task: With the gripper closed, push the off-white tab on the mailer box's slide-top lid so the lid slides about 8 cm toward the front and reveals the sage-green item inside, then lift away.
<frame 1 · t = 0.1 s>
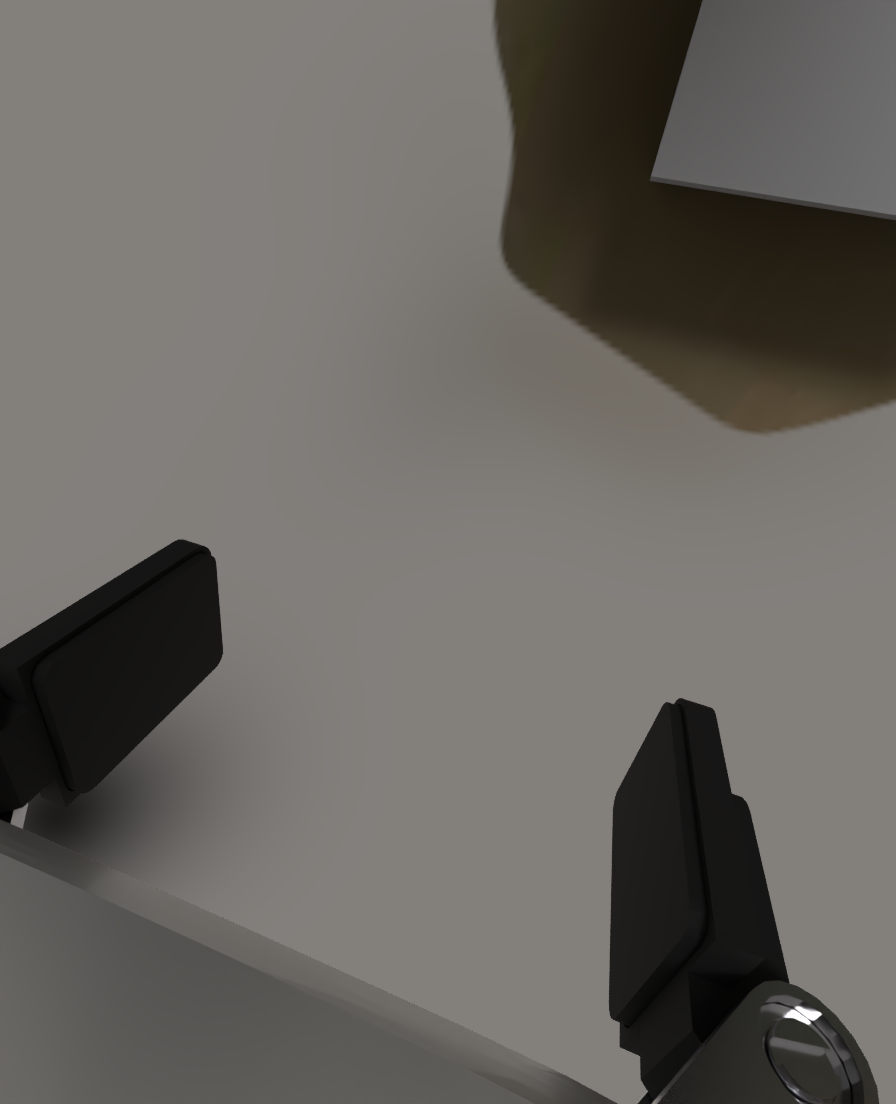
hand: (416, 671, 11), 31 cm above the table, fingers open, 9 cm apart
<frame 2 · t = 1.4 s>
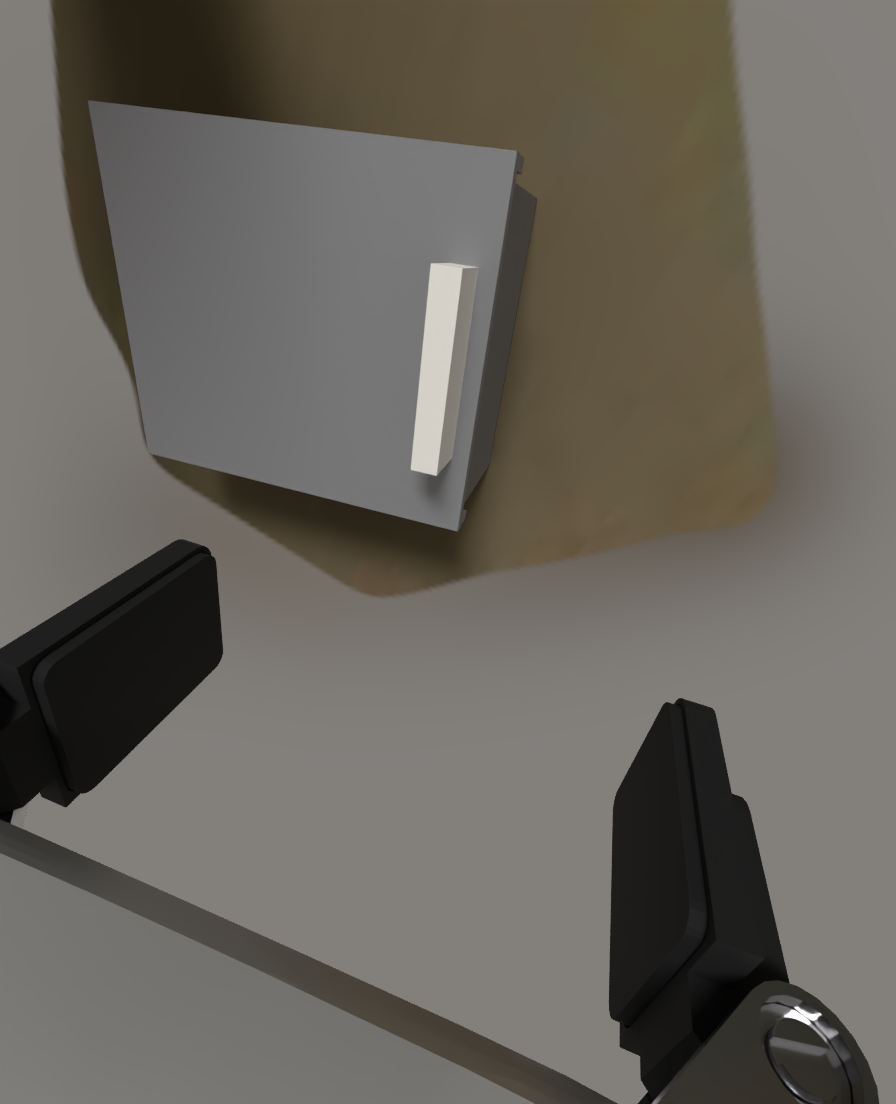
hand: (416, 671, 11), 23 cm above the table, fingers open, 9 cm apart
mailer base: (361, 320, 31), on the table
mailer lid: (285, 338, 24), point 8 cm above the table, slide at 0.0 cm
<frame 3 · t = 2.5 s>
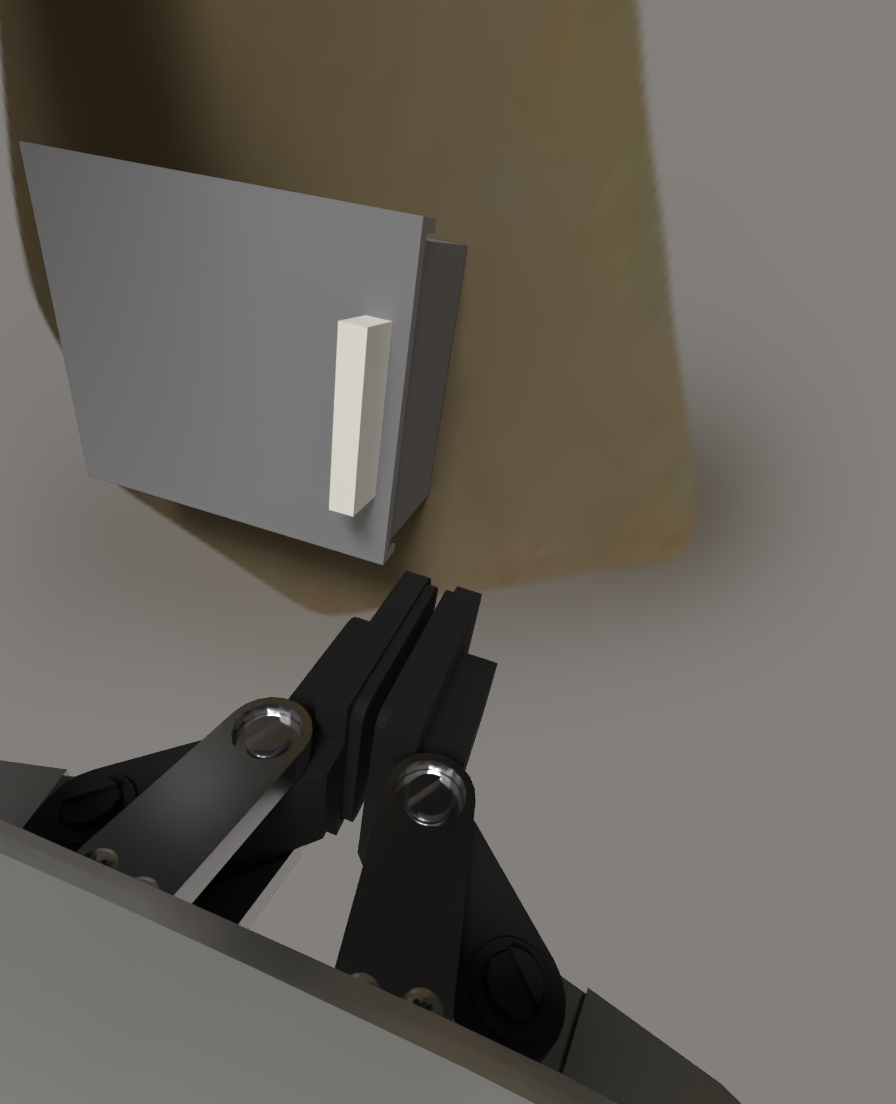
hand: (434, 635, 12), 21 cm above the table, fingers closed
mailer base: (303, 350, 32), on the table
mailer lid: (213, 376, 25), point 8 cm above the table, slide at 0.0 cm
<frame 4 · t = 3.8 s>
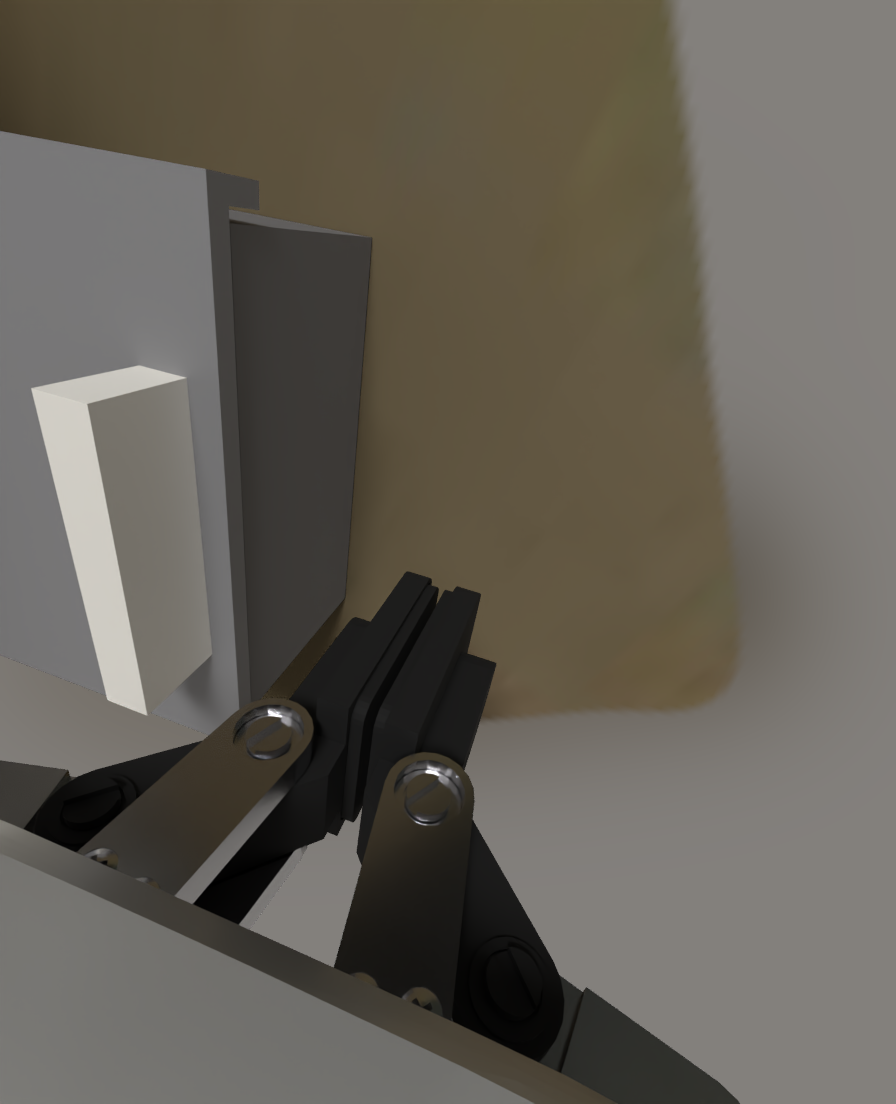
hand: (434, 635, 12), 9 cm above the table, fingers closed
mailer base: (152, 395, 21), on the table
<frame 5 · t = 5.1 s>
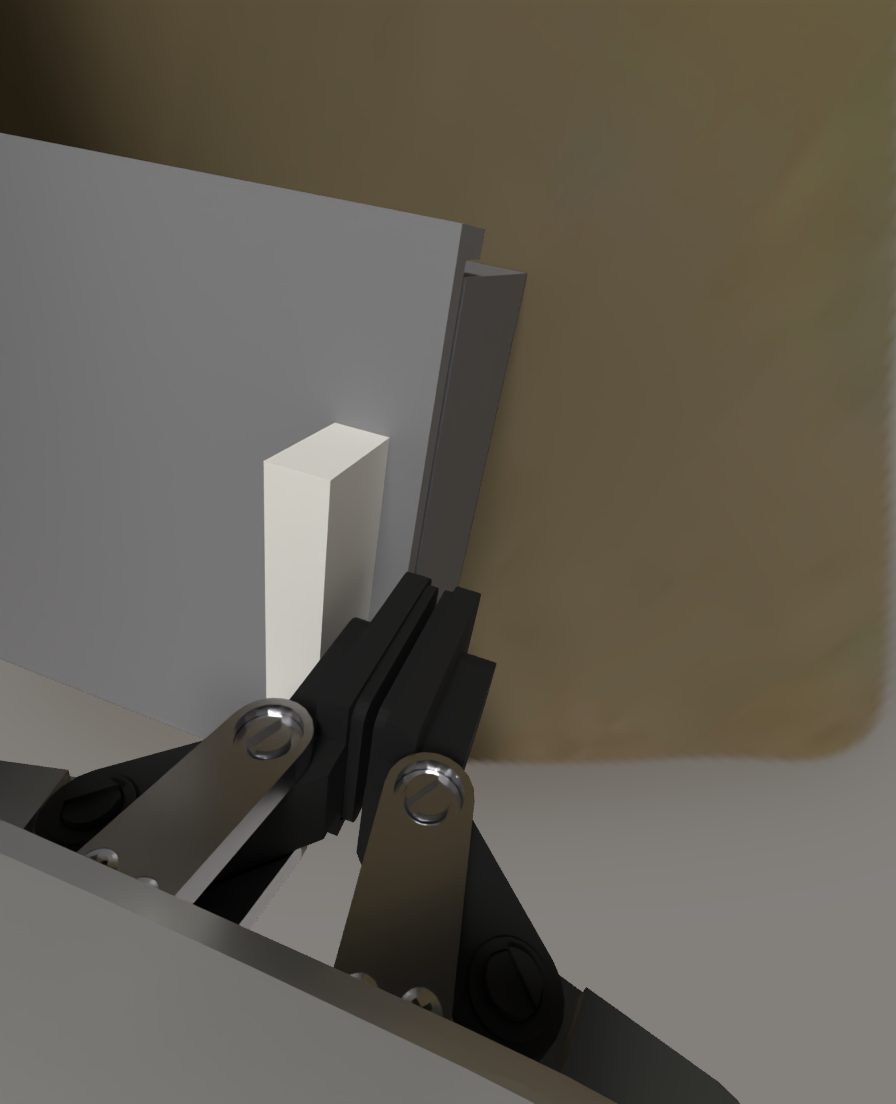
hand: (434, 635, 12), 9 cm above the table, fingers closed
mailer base: (259, 426, 21), on the table
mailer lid: (62, 508, 14), point 8 cm above the table, slide at 0.2 cm, touching gripper
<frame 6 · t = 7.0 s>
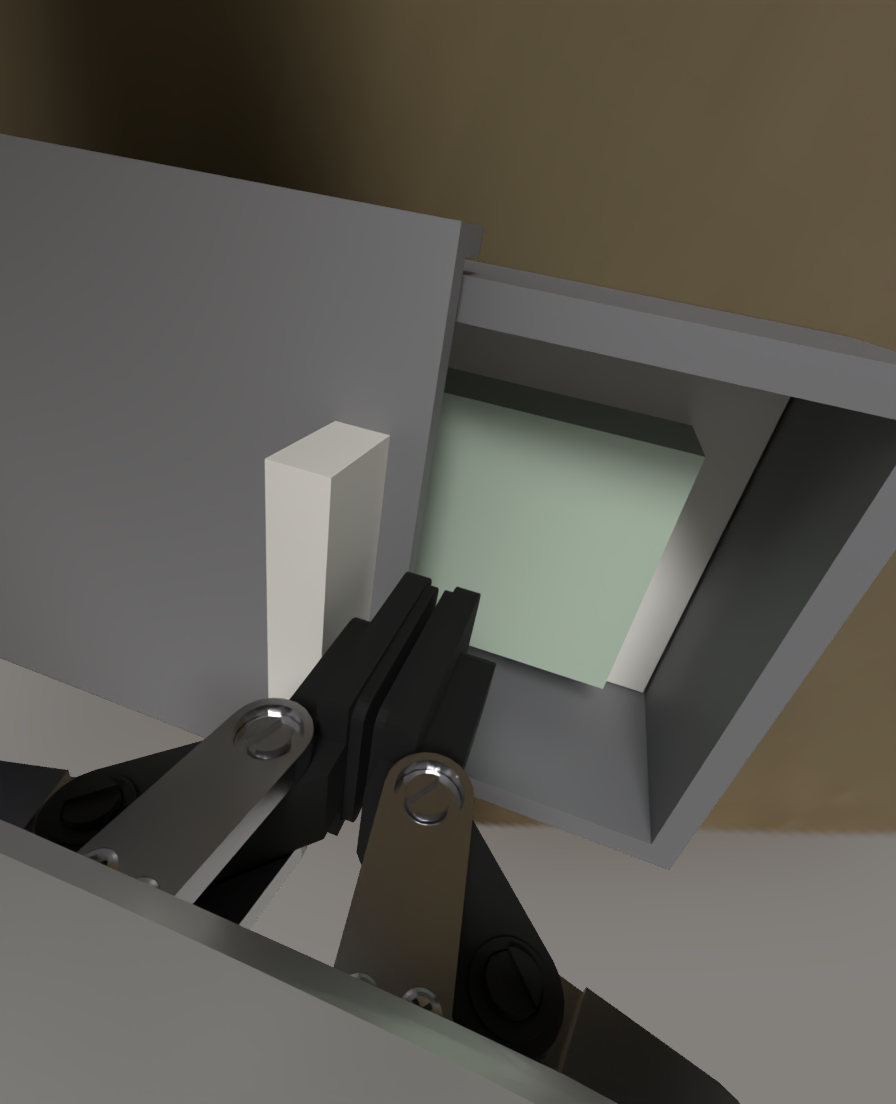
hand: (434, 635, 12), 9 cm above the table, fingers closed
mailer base: (476, 486, 19), on the table
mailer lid: (63, 508, 14), point 8 cm above the table, slide at 9.1 cm, touching gripper
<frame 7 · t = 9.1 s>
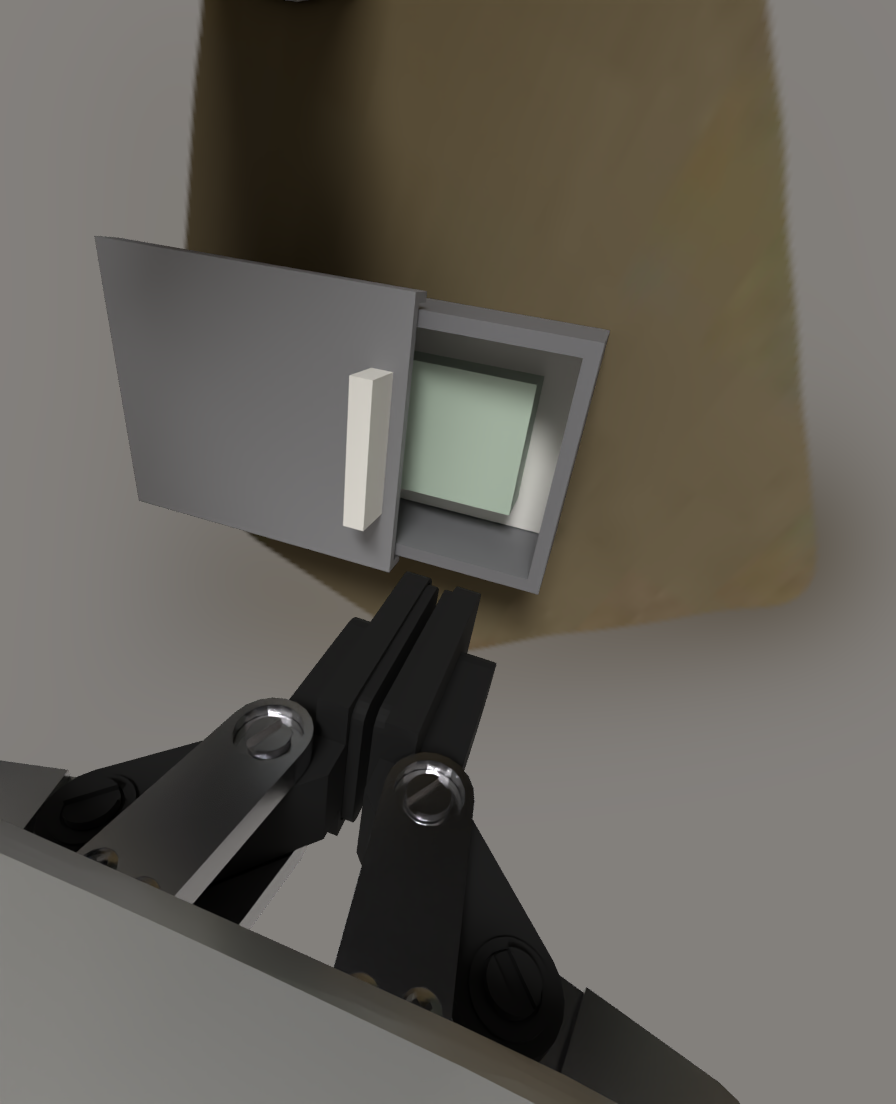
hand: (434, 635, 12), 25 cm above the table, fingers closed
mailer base: (444, 418, 35), on the table
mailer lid: (246, 417, 30), point 8 cm above the table, slide at 9.2 cm
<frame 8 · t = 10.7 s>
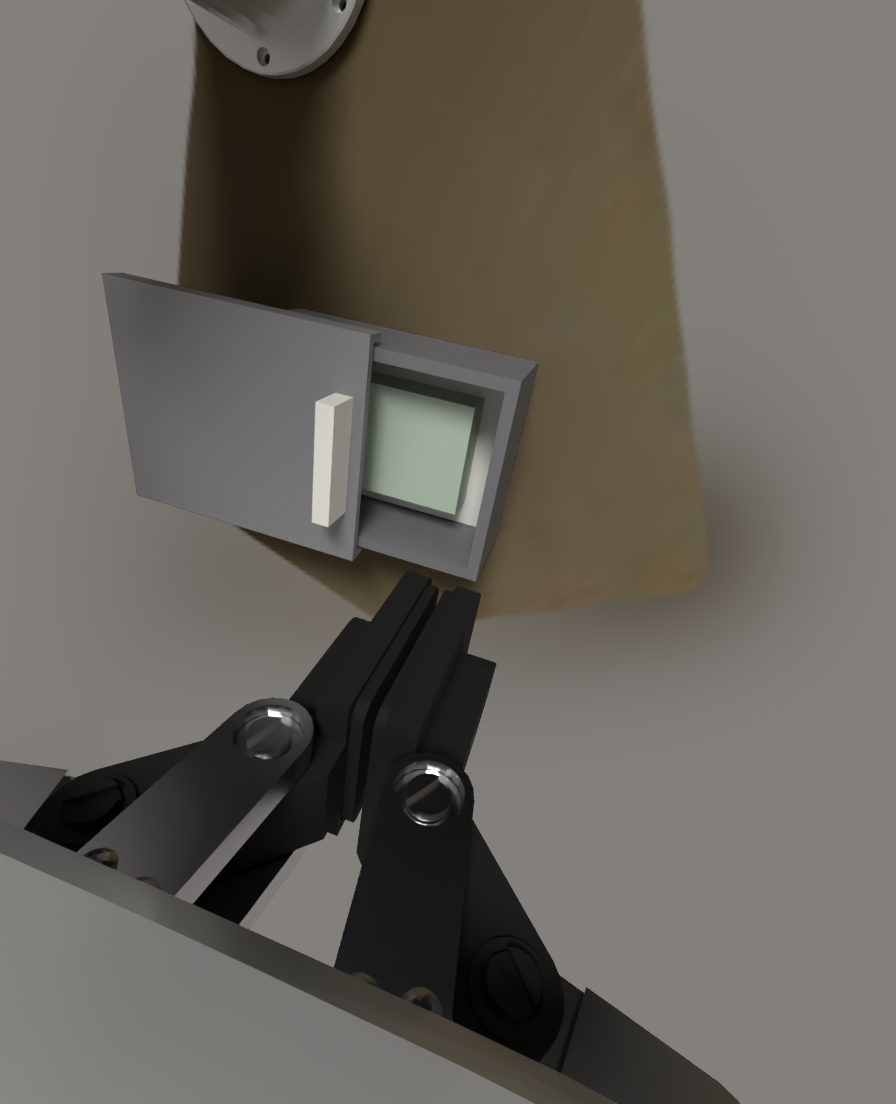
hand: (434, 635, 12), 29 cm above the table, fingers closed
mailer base: (403, 429, 41), on the table
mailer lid: (231, 428, 36), point 8 cm above the table, slide at 9.2 cm
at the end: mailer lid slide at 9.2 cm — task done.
